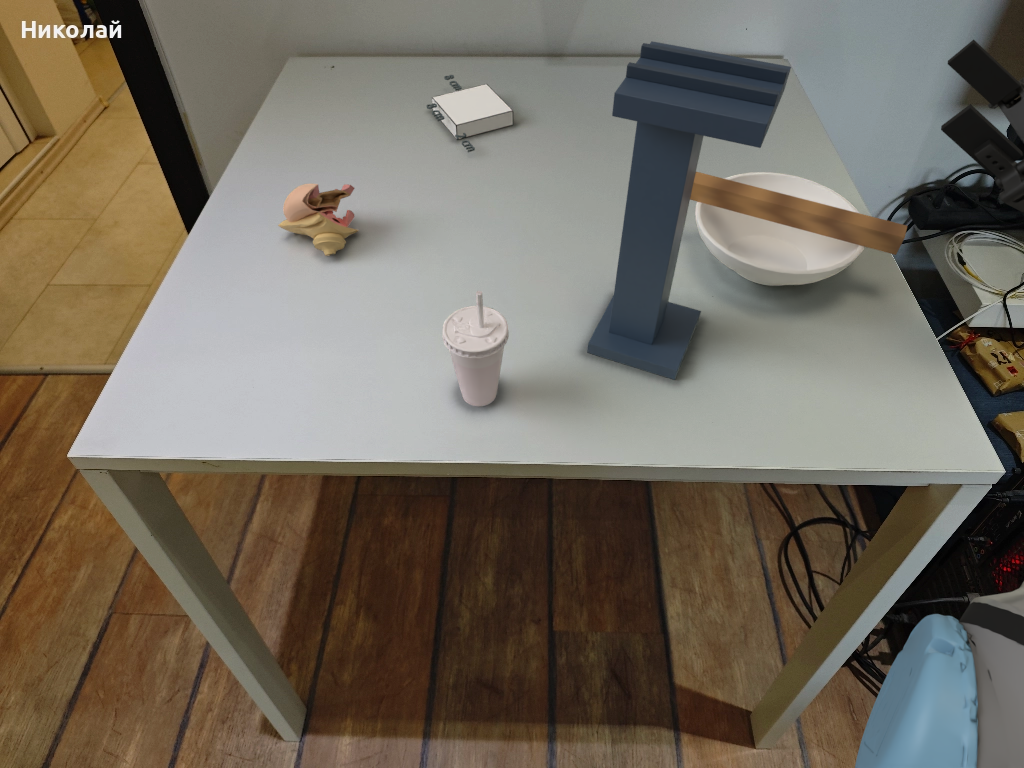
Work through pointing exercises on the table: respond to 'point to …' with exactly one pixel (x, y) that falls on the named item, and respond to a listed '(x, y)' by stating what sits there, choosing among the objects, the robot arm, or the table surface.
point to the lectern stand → (673, 186)
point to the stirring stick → (799, 213)
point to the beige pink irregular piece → (318, 216)
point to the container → (471, 111)
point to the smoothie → (476, 350)
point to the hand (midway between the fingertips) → (957, 82)
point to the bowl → (776, 236)
